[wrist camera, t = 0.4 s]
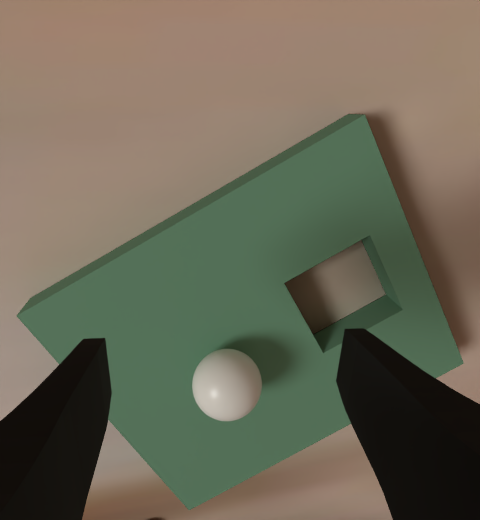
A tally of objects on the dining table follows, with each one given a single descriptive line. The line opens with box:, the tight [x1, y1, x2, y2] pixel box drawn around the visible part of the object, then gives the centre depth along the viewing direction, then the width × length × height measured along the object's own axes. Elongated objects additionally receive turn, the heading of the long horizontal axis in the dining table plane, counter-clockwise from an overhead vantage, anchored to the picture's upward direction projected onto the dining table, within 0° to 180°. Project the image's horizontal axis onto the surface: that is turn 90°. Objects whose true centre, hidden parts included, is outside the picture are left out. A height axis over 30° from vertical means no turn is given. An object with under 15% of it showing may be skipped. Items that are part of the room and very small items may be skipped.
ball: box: [192, 349, 262, 421], centre depth 21 cm, size 4×4×4 cm
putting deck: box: [17, 114, 463, 510], centre depth 24 cm, size 19×16×2 cm
